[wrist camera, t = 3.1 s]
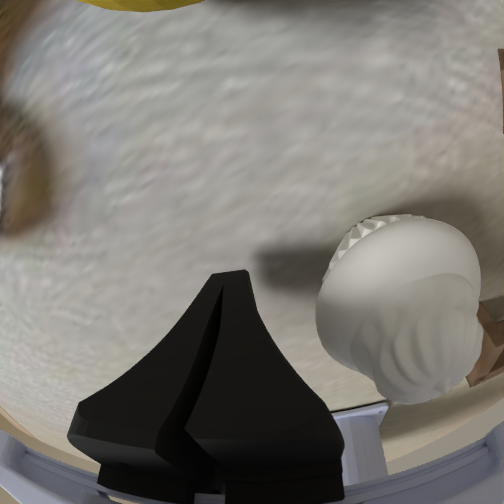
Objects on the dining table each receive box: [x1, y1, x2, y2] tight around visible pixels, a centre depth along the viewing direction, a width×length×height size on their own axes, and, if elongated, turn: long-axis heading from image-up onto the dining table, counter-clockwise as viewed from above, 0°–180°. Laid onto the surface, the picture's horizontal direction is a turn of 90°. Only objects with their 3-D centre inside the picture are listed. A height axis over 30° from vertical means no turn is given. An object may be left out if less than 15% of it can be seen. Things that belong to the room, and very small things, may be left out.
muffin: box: [316, 214, 483, 405], centre depth 8 cm, size 6×6×7 cm
